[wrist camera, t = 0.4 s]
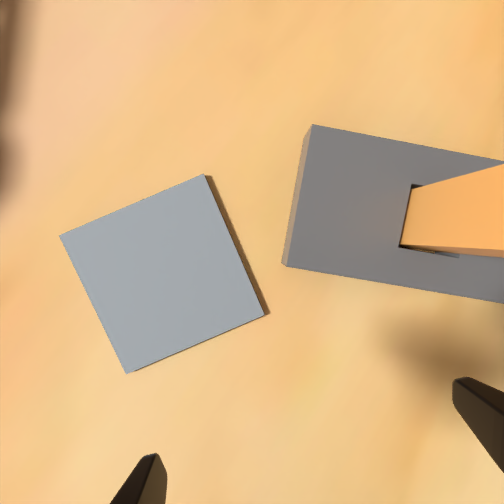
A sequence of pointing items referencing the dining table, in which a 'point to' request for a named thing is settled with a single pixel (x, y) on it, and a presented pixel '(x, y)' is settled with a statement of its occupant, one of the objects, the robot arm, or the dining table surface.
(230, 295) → the mat
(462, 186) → the plug
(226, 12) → the dining table surface
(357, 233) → the grey square-hole plate
